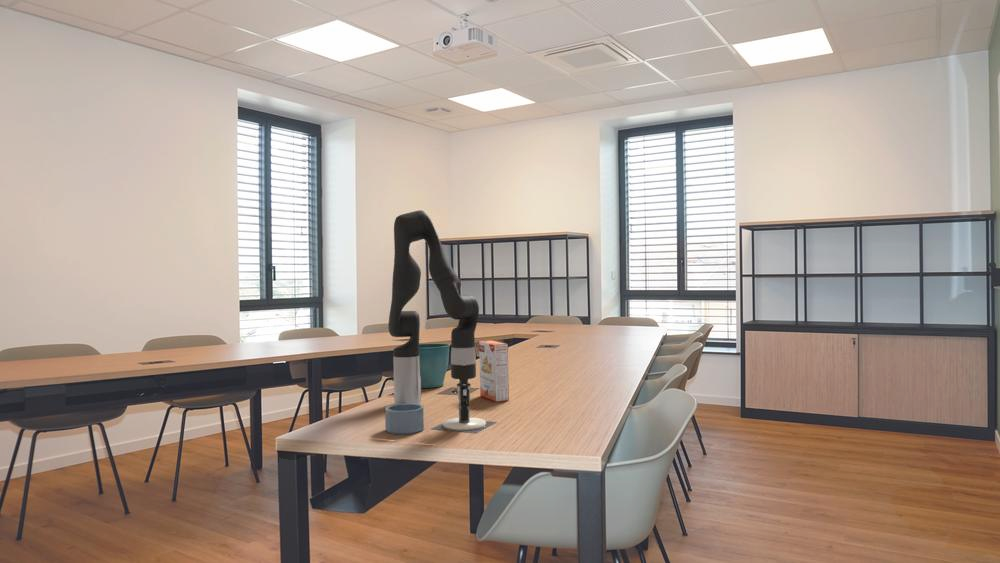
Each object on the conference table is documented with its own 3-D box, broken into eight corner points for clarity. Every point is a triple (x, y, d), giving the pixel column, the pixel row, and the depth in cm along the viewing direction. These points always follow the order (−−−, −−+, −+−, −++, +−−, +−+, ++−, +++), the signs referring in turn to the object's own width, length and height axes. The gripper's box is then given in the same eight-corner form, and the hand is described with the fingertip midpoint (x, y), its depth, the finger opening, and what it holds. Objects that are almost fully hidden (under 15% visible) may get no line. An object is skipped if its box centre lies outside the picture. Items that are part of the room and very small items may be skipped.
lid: (454, 419, 202) (454, 398, 202) (492, 422, 197) (492, 401, 197) (434, 428, 190) (434, 406, 190) (474, 432, 185) (474, 409, 185)
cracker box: (479, 396, 243) (478, 340, 243) (493, 394, 246) (492, 340, 246) (494, 402, 231) (493, 344, 230) (509, 401, 233) (508, 343, 233)
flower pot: (398, 386, 268) (397, 345, 268) (433, 381, 280) (432, 342, 280) (423, 391, 255) (423, 348, 255) (459, 385, 267) (458, 344, 267)
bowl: (399, 425, 197) (398, 402, 197) (430, 428, 192) (430, 405, 192) (378, 434, 187) (378, 409, 187) (411, 437, 182) (410, 412, 182)
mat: (453, 419, 204) (453, 418, 204) (497, 423, 198) (497, 422, 198) (430, 430, 190) (430, 429, 190) (475, 434, 184) (475, 433, 184)
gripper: (450, 359, 200) (450, 414, 200) (451, 365, 186) (452, 425, 186) (474, 358, 201) (475, 413, 201) (477, 364, 187) (478, 423, 187)
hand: (464, 418), depth 194 cm, fingers open, 3 cm apart
